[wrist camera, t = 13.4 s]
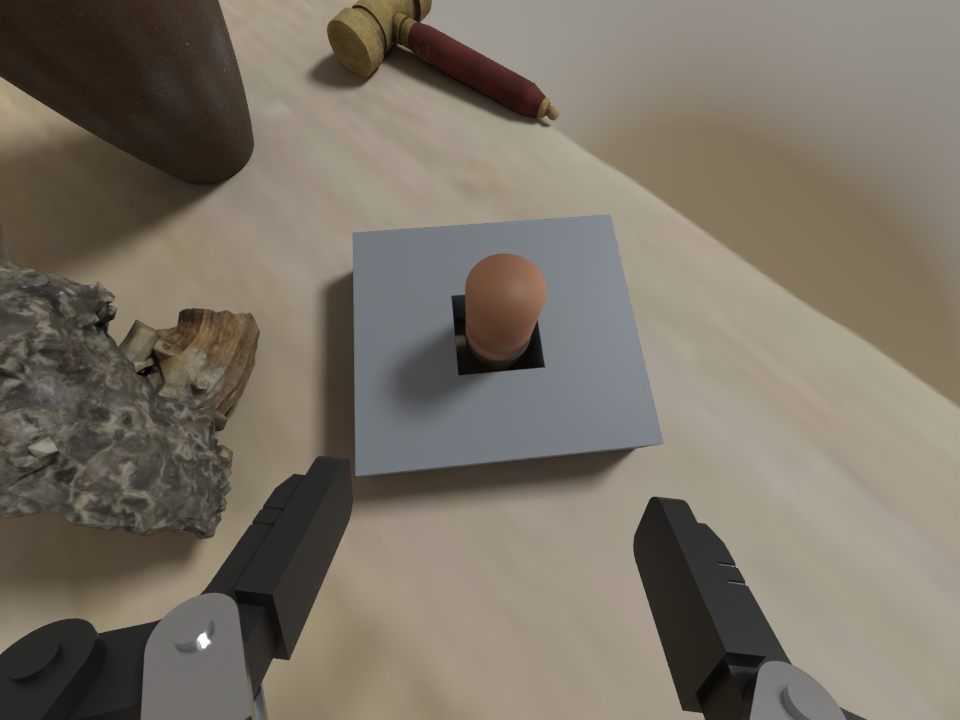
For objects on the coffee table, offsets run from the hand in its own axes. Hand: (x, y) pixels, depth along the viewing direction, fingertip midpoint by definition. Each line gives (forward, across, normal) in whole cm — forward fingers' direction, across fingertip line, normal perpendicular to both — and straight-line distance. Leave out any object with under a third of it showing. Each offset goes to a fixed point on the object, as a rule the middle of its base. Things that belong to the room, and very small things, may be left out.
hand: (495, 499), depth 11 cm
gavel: (+38, +6, -14) cm, 40 cm away
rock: (+13, +21, +10) cm, 27 cm away
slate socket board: (+18, 0, +5) cm, 19 cm away
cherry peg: (+18, 0, +5) cm, 19 cm away
